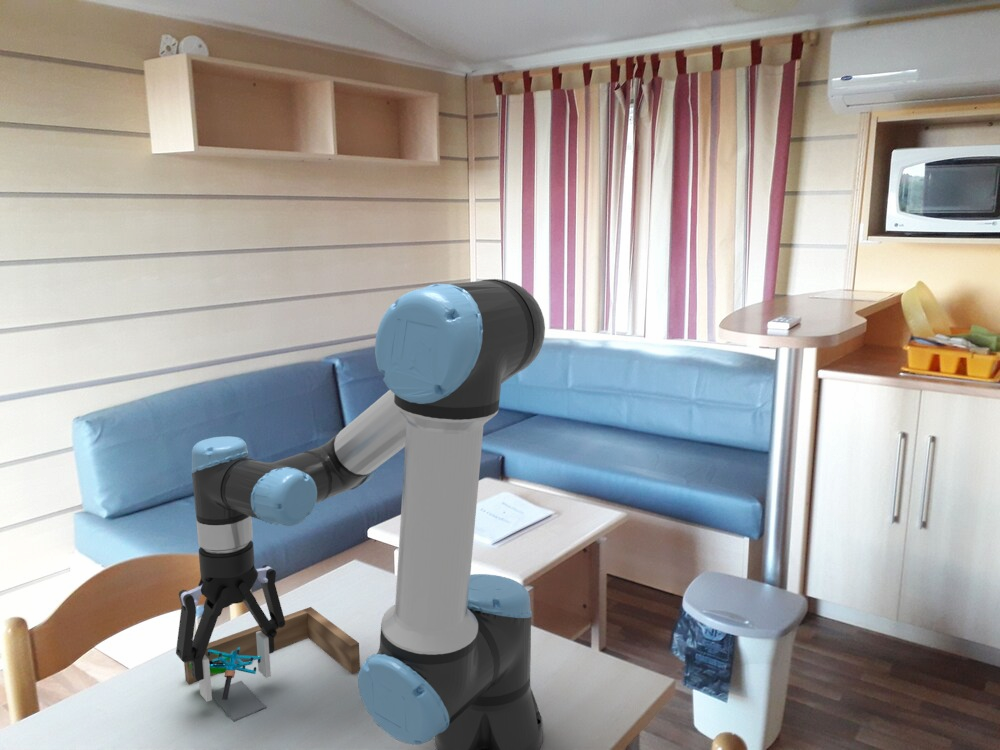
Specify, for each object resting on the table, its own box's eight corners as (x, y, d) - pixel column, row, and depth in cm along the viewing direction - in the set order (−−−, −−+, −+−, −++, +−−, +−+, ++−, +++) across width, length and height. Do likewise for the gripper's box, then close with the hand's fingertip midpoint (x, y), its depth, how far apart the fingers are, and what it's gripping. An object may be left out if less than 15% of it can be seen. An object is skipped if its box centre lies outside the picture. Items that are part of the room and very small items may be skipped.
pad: (266, 707, 116) (266, 706, 116) (233, 721, 113) (233, 720, 113) (241, 681, 123) (241, 680, 123) (209, 694, 120) (209, 692, 119)
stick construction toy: (272, 654, 119) (237, 639, 113) (264, 702, 115) (227, 688, 109) (212, 666, 123) (176, 652, 118) (202, 713, 119) (164, 700, 113)
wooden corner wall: (360, 671, 125) (358, 642, 124) (226, 729, 111) (224, 697, 110) (312, 633, 137) (310, 606, 136) (185, 681, 123) (183, 652, 122)
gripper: (282, 518, 123) (289, 649, 127) (141, 555, 109) (154, 701, 113) (304, 532, 117) (311, 669, 121) (159, 573, 103) (172, 726, 108)
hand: (236, 684), depth 117 cm, fingers closed on stick construction toy, 8 cm apart
